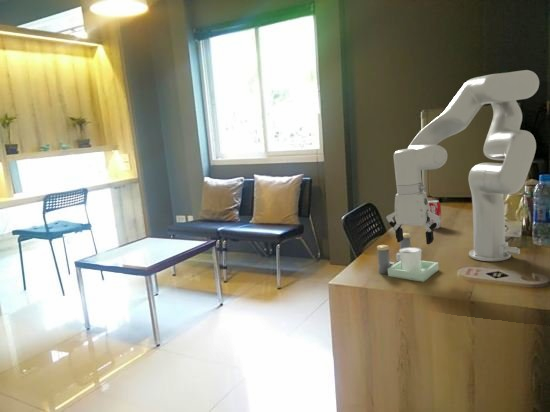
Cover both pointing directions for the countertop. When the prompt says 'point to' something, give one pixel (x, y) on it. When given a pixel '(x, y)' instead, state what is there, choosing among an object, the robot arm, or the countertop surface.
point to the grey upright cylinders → (384, 254)
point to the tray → (425, 273)
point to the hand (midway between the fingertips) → (414, 242)
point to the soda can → (435, 210)
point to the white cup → (411, 259)
